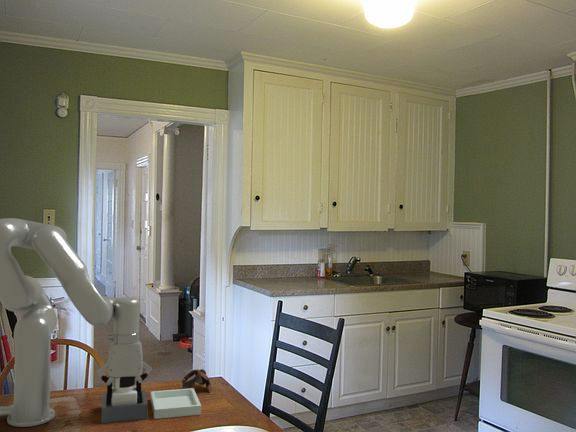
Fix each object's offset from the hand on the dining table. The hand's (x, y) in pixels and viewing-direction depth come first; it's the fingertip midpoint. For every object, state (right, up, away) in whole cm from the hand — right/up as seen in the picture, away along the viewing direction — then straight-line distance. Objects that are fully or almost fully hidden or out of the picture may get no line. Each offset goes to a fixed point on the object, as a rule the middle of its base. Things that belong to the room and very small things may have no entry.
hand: (123, 395), depth 157 cm
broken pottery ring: (+19, -6, +22) cm, 30 cm away
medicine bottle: (0, -6, 0) cm, 6 cm away
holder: (0, -5, 0) cm, 5 cm away
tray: (+14, -6, +6) cm, 17 cm away
